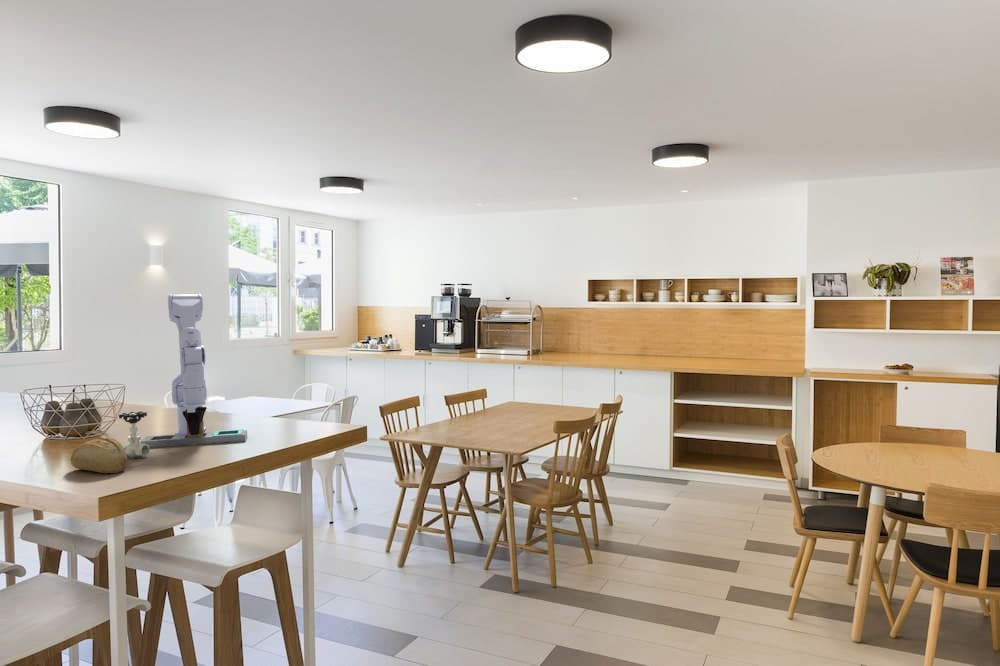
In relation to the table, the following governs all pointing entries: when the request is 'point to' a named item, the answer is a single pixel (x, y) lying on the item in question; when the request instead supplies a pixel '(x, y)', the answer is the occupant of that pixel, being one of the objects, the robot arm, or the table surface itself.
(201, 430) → the walnut block
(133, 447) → the valve
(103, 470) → the bread roll
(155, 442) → the grey slotted board
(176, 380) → the robot arm
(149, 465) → the table surface
